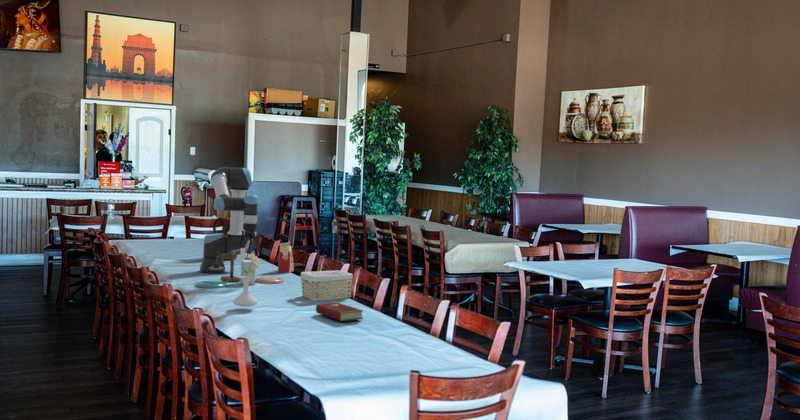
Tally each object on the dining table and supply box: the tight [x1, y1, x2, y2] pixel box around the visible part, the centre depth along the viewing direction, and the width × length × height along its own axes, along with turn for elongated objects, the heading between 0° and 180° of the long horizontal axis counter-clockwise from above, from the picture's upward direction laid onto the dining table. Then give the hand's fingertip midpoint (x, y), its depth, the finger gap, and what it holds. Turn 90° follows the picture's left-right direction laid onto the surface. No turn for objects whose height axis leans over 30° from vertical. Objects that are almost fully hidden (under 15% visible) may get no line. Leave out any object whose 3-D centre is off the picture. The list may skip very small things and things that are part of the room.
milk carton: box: [277, 241, 295, 274], centre depth 451 cm, size 9×9×20 cm
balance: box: [209, 246, 250, 283], centre depth 411 cm, size 12×27×19 cm, turn 131°
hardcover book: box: [315, 302, 364, 322], centre depth 329 cm, size 12×21×4 cm, turn 38°
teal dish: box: [195, 280, 227, 289], centre depth 390 cm, size 16×16×1 cm
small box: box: [240, 260, 256, 286], centre depth 402 cm, size 8×6×13 cm
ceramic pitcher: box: [212, 216, 238, 261], centre depth 496 cm, size 20×20×30 cm
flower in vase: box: [232, 252, 261, 307], centre depth 339 cm, size 13×11×25 cm
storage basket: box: [300, 269, 354, 302], centre depth 376 cm, size 24×16×15 cm
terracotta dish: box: [255, 276, 285, 285], centre depth 415 cm, size 16×16×1 cm
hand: (248, 260), depth 401 cm, fingers open, 13 cm apart
